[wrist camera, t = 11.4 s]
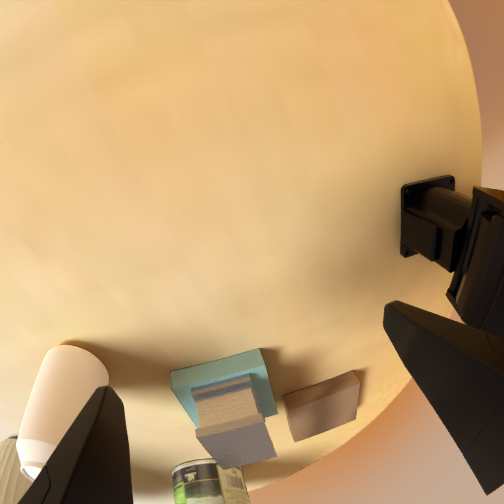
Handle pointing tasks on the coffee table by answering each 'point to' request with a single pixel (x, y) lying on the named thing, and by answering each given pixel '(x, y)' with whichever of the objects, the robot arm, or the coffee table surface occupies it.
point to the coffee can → (208, 484)
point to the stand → (222, 371)
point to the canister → (11, 474)
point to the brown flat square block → (322, 406)
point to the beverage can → (56, 403)
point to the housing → (232, 422)
